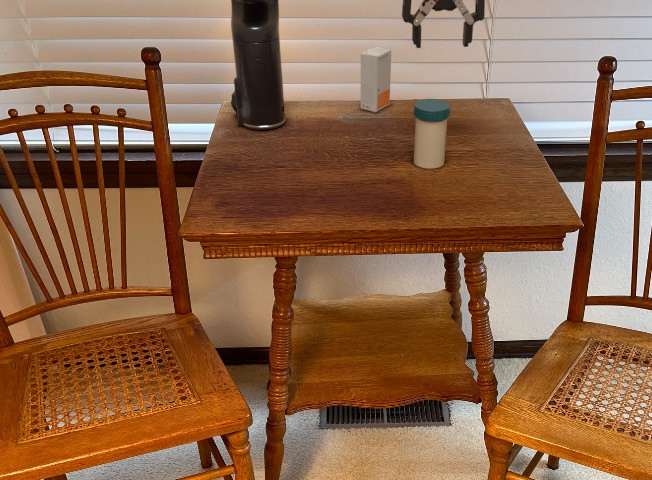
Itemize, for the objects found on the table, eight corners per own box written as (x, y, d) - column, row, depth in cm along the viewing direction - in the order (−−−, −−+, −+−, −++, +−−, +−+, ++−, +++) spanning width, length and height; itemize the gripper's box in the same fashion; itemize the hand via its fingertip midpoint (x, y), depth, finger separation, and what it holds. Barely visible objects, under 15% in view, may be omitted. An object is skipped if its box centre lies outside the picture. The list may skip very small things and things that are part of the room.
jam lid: (412, 120, 137) (412, 110, 136) (415, 107, 142) (415, 97, 141) (448, 122, 137) (449, 112, 135) (450, 109, 142) (450, 99, 140)
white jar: (412, 167, 143) (414, 112, 136) (414, 154, 148) (416, 100, 141) (443, 169, 143) (447, 114, 136) (445, 156, 147) (448, 102, 140)
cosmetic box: (376, 113, 164) (376, 56, 157) (360, 109, 166) (359, 52, 158) (390, 105, 168) (392, 49, 161) (374, 101, 170) (375, 45, 162)
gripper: (484, -62, 128) (477, 39, 138) (401, -61, 127) (400, 41, 137) (493, -53, 122) (484, 51, 132) (405, -52, 121) (404, 53, 131)
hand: (441, 46), depth 135 cm, fingers open, 8 cm apart
